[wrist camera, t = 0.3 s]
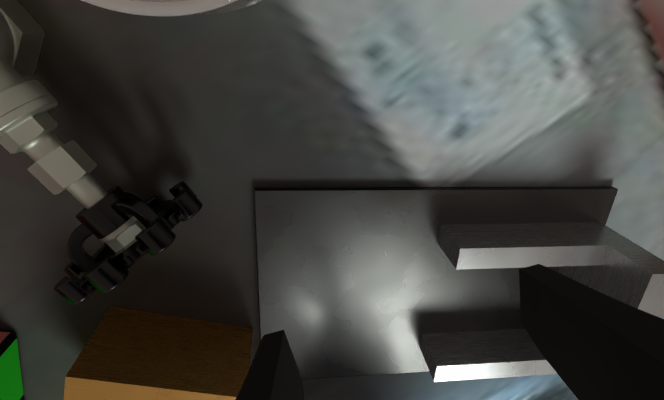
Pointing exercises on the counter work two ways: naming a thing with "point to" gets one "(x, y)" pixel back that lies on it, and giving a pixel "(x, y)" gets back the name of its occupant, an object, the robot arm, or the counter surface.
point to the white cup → (172, 6)
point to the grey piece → (432, 274)
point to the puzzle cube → (10, 368)
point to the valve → (77, 171)
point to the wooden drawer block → (160, 359)
